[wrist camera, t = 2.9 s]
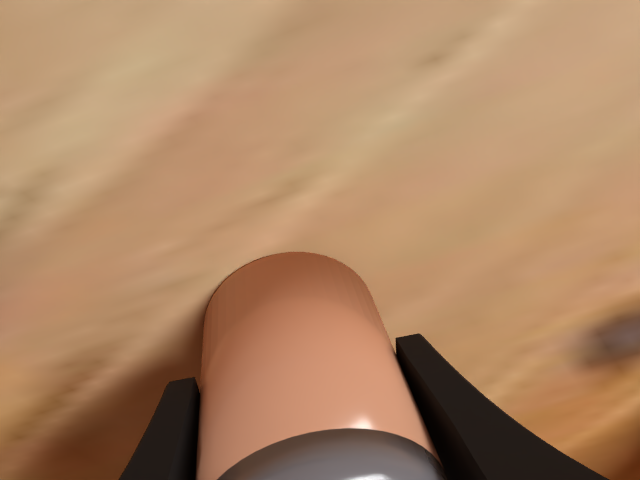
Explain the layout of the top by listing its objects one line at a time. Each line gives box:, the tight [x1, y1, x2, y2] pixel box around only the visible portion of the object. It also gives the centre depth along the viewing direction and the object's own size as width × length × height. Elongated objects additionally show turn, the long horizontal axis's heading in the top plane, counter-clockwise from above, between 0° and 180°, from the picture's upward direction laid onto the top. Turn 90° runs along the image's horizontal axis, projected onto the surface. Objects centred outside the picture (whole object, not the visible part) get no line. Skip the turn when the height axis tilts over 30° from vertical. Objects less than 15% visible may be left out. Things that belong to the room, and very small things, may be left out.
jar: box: [195, 252, 448, 480], centre depth 12 cm, size 5×5×7 cm
